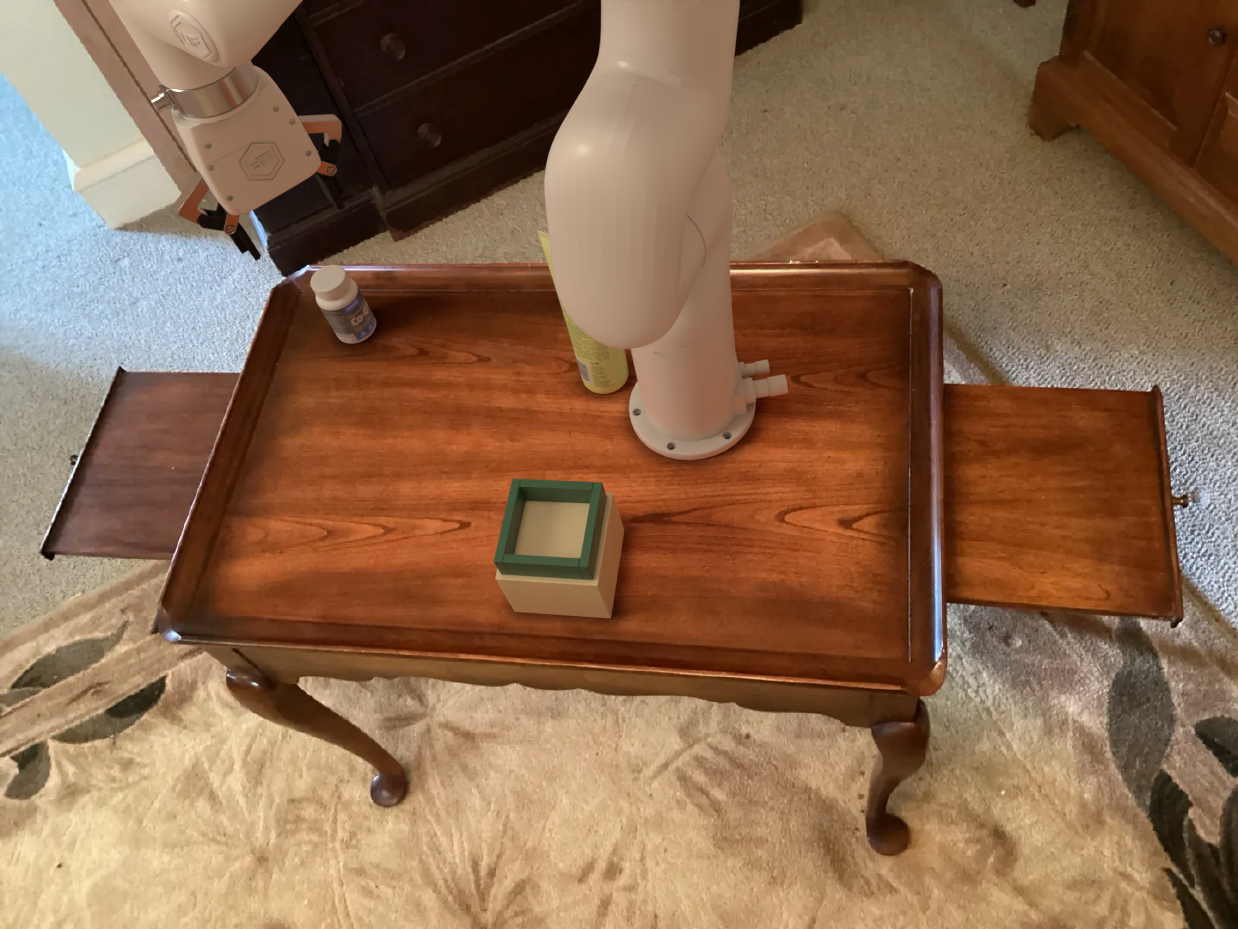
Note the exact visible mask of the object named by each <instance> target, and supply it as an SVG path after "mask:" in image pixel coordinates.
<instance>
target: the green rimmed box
mask: <svg viewBox="0 0 1238 929" xmlns="http://www.w3.org/2000/svg"><path fill="white" fill-rule="evenodd" d="M509 487H510V488H509V492H508V496H507V501H506V503H505V510H504V514H503V518H502V523H501V527H500V531H499V536H498V540H497V545H496V549H495V553H494V557H493V564H494V565H495V567H496V574H495V578H494V579H495V581H496V583H497V585H498V586H499V589H500V590H501V591H502V593H503V594H504V596H505V598H506V599H507V601H508V603H509V605H510V606H511V608H512V609H513V611H514V613H526V614H527V613H528V614H540V615H552V616H553V615H554V616H569V617H584V618H598V619H612V615H613V609H614V602H615V594H616V590H617V589H616V588H617V583H618V582H617V581H618V576H619V569H620V563H621V556H622V549H623V543H624V536H625V527H624V524H623V521H622V518H621V515H620V511H619V508H618V505H617V502H616V498H615V496H614V493H613V492H606V490H605V486H604V484H603V482H600V481H583V480H582V481H580V480H560V479H559V480H558V479H534V478H533V479H532V478H512V479H511V484H510V486H509Z"/></svg>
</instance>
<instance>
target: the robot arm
mask: <svg viewBox="0 0 1238 929" xmlns="http://www.w3.org/2000/svg"><path fill="white" fill-rule="evenodd" d="M303 1H304V0H108V2H109V4H110V5H111V7H112V8H113V10H114V12H115V13H116V15H117V16H118V18H119V20H120V21H121V23H122V25H123V26H124V28H125V29H126V31H127V32H128V34H129V36H130V37H131V39H132V40H133V42H134V43H135V45H136V47H137V49H138V50H139V52H140V53H141V55H142V56H143V58H144V59H145V61H146V62H147V64H148V66H149V67H150V69H151V70H152V72H153V74H154V75H155V79H156V80H157V82H158V83H159V85H157V88H158V89H159V90H157V91H155V94H153V95H151V96H149V97H148V99H149V101H150V102H151V104H152V105H153V106H154V108H155V109H156V111H157V112H158V113H161V112H163V111H165V110H167V111H169V110H171V116H172V120H173V122H174V125H175V128H176V131H177V132H178V135H179V137H180V139H181V141H182V143H183V146H184V148H185V150H186V152H187V153H188V155H189V158H190V160H191V161H192V163H193V165H194V166H195V168H196V171H195V173H194V174H193V176H192V177H191V179H190V180H189V182H188V183H187V185H186V186H185V187H184V189H183V190H182V192H181V193H180V194H179V196H178V197H177V199H176V200H175V202H173V203H174V204H173V209H174V210H175V211H176V213H177V215H178V216H179V217H181V218H183V219H185V220H187V221H189V222H191V223H194V224H197V225H199V226H200V227H201V228H202V229H206V230H212V231H218V232H219V231H220V232H224V234H225V235H228V236H229V238H230V239H231V241H232V242H233V243H234V246H236V248H237V250H239V252H240V253H241V254H242V255H244V254H245V253H246V252H248V253H249V254H250V255H251V257H252V258H253V259H254V261H255V262H257V261H260V259H261V257H262V255H261V252H260V251H259V250H258V248H257V246H256V245H255V243H254V242H253V240H252V239H251V237H250V236H249V233H248V232H247V230H245V228H244V227H243V226H242V224H241V223H240V221H239V220H240V216H243V215H245V214H248V213H250V212H252V211H254V210H256V209H258V208H260V207H262V206H263V205H265V204H266V203H268V202H270V201H272V200H274V199H275V198H278V197H279V196H281V195H283V194H285V192H287V191H289V190H291V189H293V188H294V187H296V186H298V185H299V184H300V183H303V182H304V181H305V180H307V179H309V178H311V177H312V176H313V175H314V176H315V177H316V180H317V182H318V183H319V186H320V187H321V189H322V191H323V193H324V195H325V197H326V198H327V199H328V200H329V202H330V203H331V204H332V205H333V206H334V207H335V208H336V210H337V211H343V210H344V209H346V205H345V204H344V202H343V199H342V197H341V196H343V195H345V191H344V189H343V187H342V186H341V183H340V181H339V179H338V177H337V175H336V173H337V172H338V169H337V165H336V164H337V162H338V159H339V156H340V154H341V152H342V143H341V140H342V131H343V130H342V129H343V123H342V120H340V118H338V117H337V116H336V115H335V114H333V113H332V114H331V113H329V114H327V113H326V114H310V115H297V113H296V112H295V109H294V108H293V107H292V105H291V103H290V102H289V100H288V99H287V97H286V95H285V94H284V93H283V92H282V90H281V89H280V88H279V86H278V85H277V83H276V82H275V81H274V80H273V78H272V77H271V76H270V75H269V73H267V72H266V71H265V70H263V69H262V68H260V67H259V66H256V65H254V64H253V63H252V59H253V58H254V57H255V56H257V55H258V53H259V52H260V51H261V49H263V47H265V45H266V44H267V43H268V42H269V41H270V39H271V38H272V37H273V36H274V35H275V34H276V32H277V31H278V30H279V29H280V27H281V26H282V25H283V24H284V23H285V21H286V20H287V19H288V18H289V17H290V16H291V14H292V13H293V12H294V11H295V10H296V9H297V7H299V5H300V4H301V3H302V2H303ZM740 1H741V0H600V40H599V49H598V55H597V59H596V62H595V64H594V66H593V69H592V70H591V73H590V74H589V77H588V79H587V80H586V83H585V84H584V86H583V88H582V90H581V91H580V92H579V94H578V96H577V98H576V100H575V101H574V103H573V104H572V106H571V108H570V109H569V111H568V113H567V114H566V117H564V120H563V121H562V123H561V125H560V126H559V128H558V130H557V132H556V134H555V137H554V139H553V141H552V143H551V146H550V149H549V152H548V155H547V160H546V164H545V171H544V179H543V180H544V181H543V191H544V204H545V213H546V223H547V233H549V241H550V251H551V259H552V268H553V276H554V282H555V285H554V287H555V286H556V288H555V291H556V290H557V292H556V294H557V293H558V295H557V297H558V296H559V298H558V300H559V299H560V301H561V303H562V305H563V307H564V309H565V311H566V312H567V314H568V316H569V317H570V318H571V320H572V321H573V322H574V323H575V324H576V326H577V327H578V328H579V329H581V330H582V331H583V332H584V333H585V334H586V335H588V336H589V337H591V338H592V339H594V340H596V341H597V342H599V343H601V344H603V345H606V346H609V347H613V348H618V349H625V350H630V353H631V357H632V362H633V366H634V370H635V375H636V379H637V381H636V382H635V385H634V387H633V388H632V390H631V393H630V397H629V401H628V413H629V419H630V424H631V426H632V429H633V431H634V433H635V434H636V436H637V437H638V439H639V440H640V442H642V443H643V444H644V445H645V447H647V448H648V449H650V450H652V451H653V452H654V453H657V454H658V455H661V456H664V457H666V458H669V459H674V460H684V461H694V460H696V461H697V460H703V459H708V458H710V457H711V458H712V457H715V456H718V455H719V454H721V453H723V452H726V451H727V450H729V449H731V448H732V447H734V446H735V445H736V444H737V443H738V442H739V441H740V440H741V439H743V437H744V436H745V435H746V433H747V432H748V431H749V429H750V427H751V425H752V423H753V421H754V418H755V413H756V403H757V399H760V398H766V397H770V398H771V397H776V396H781V395H786V394H789V387H788V380H787V376H786V374H785V373H783V374H777V375H772V376H766V377H765V378H761V379H756V380H753V376H762V375H767V374H770V373H771V369H770V363H769V359H767V358H766V359H761V360H757V361H754V362H750V363H745V362H744V361H740V362H739V361H738V356H737V352H736V343H735V331H734V330H735V329H734V318H733V307H732V306H733V297H732V296H733V295H732V284H731V283H732V282H731V246H732V234H733V232H732V231H733V220H734V219H733V217H734V197H733V196H734V194H733V188H732V183H731V179H730V176H729V173H728V169H727V168H726V166H725V163H724V161H723V160H722V158H721V157H720V155H719V154H718V152H716V151H717V148H718V145H719V144H720V142H721V140H722V137H723V134H724V132H725V129H726V126H727V124H728V120H729V116H730V112H731V104H732V90H733V88H732V87H733V74H734V62H735V53H736V45H737V44H736V43H737V35H738V34H737V33H738V24H739V15H740V3H741V2H740ZM309 134H310V135H311V134H323V135H324V136H323V137H322V140H321V143H320V146H319V149H318V150H317V148H316V146H315V145H314V143H313V141H312V139H311V137H310V135H309ZM208 191H210V192H211V193H212V195H213V196H214V198H215V204H214V208H213V209H207V208H203V207H202V208H201V207H198V206H199V205H200V203H201V201H203V199H204V197H205V196H206V194H207V193H208ZM554 282H553V283H554ZM560 301H559V302H560Z"/></svg>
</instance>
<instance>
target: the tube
mask: <svg viewBox="0 0 1238 929" xmlns="http://www.w3.org/2000/svg"><path fill="white" fill-rule="evenodd" d="M537 235H538V238H539V242H540V244H541V247H542V250H543V253H544V256H545V258H546V263H547V265H548V266H547V267H548V269H549V272H550V275H551V279H552V281H553V284H554V287H555V291H556V294H557V298H558V301H559V304H560V308H561V311H562V315H563V318H564V322H565V324H566V328H567V331H568V336H569V338H570V341H571V345H572V348H573V352H574V355H575V358H576V363H577V366H578V370H579V373H580V377H581V380H582V383H583V385H584V386H585V388H587V389H588V390H589V391H591V392H593V393H595V394H598V395H599V394H600V395H606V394H611V393H615V392H616V391H617V392H618V391H619V390H620V389H622V387H624V386H625V385H626V383H627V381H628V379H629V376H630V374H629V366H628V360H627V355H626V349H618V348H613V347H609V346H606V345H603V344H601V343H599V342H597V341H596V340H594V339H592V338H591V337H589V336H588V335H586V334H585V333H584V332H583V331H582V330H581V329H579V328H578V327H577V326H576V324H575V323H574V322H573V321H572V320H571V318H570V317H569V316H568V314H567V312H566V311H565V309H564V307H563V305H562V303H561V301H560V299H559V296H558V293H557V290H556V286H555V282H554V276H553V268H552V259H551V251H550V241H549V232H545V231H542V230H537Z"/></svg>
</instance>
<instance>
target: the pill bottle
mask: <svg viewBox="0 0 1238 929" xmlns="http://www.w3.org/2000/svg"><path fill="white" fill-rule="evenodd" d="M309 283H310V287H311V289H312V292H314V294H315V302H316V303H317V305H318V307H319V309H320V311H321V313H322V314H323V316H324V317H325V319H326V320H327V323H328V324H329V326H330V327H331V329H332V330H333V332H334V333H335V335H336V337H337V338H338V340H340V342H343V343H345V344H351V345H352V344H353V345H354V344H359V343H361V342H364V341H365V340H367V339H369V338H370V337H371V336H372V334H373V333H374V332H375V329H376V327H377V320H376V316H375V315H374V313H373V311H372V309H371V308H370V306H369V304H368V302H367V300H366V298H365V297H364V295H363V293H362V291H361V290H360V288H359V286H358V284H357V282H356V281H355V279H353V278H351V277H350V275H349V274H348V273H347V271H346V269H345V268H344V267H343V266H341V265H339V264H328V265H324V266H322V267H320V268H319V269H317V270H316V271H315V272H314V273H313V274H312V276H311V278H310V282H309Z"/></svg>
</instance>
